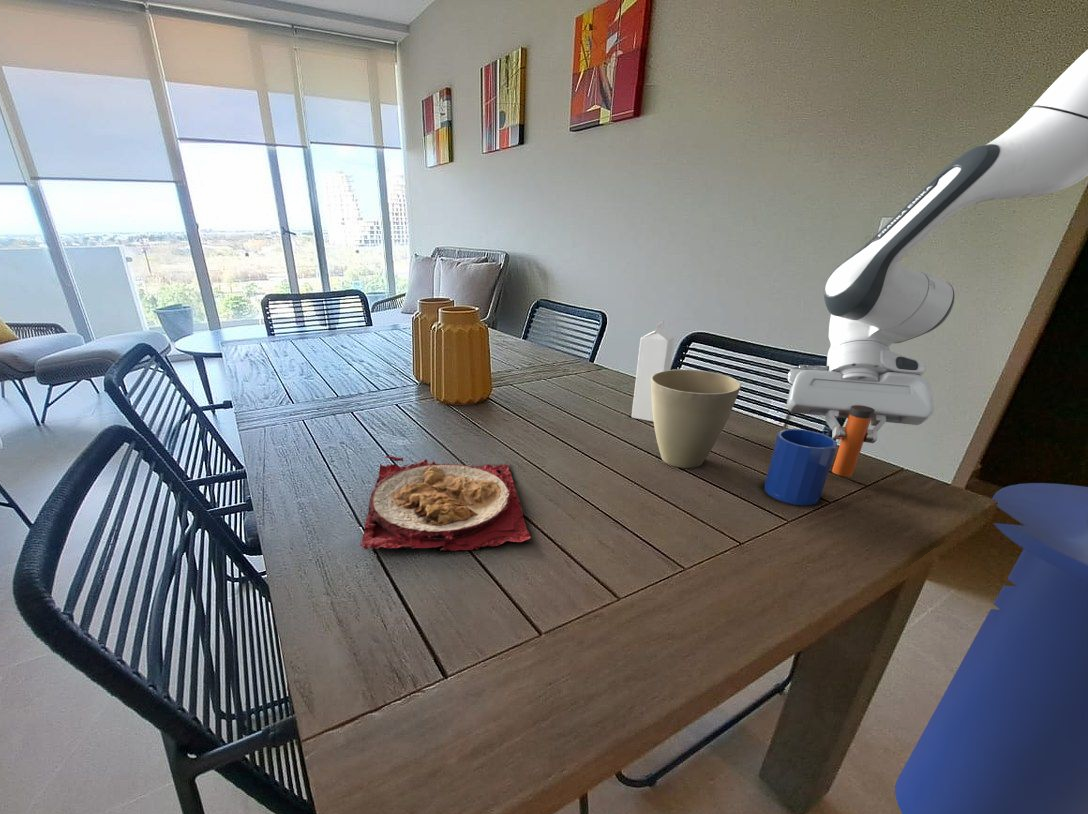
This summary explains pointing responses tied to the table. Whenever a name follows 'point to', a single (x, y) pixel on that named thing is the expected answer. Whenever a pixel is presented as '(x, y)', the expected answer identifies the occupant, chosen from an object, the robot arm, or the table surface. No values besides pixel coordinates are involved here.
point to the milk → (651, 368)
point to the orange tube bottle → (852, 440)
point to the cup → (799, 466)
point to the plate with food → (443, 507)
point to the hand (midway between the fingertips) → (854, 439)
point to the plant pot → (690, 413)
